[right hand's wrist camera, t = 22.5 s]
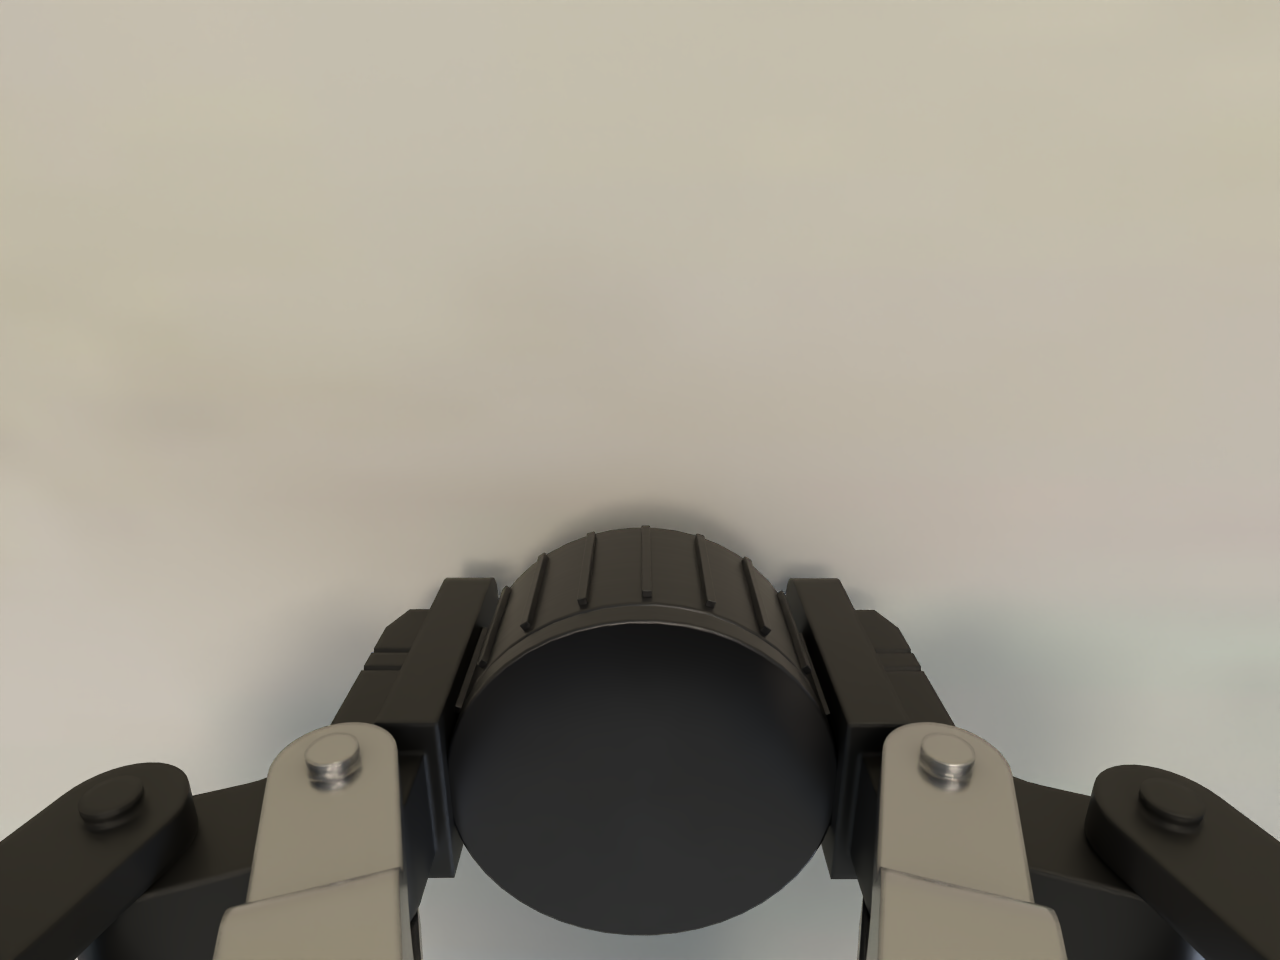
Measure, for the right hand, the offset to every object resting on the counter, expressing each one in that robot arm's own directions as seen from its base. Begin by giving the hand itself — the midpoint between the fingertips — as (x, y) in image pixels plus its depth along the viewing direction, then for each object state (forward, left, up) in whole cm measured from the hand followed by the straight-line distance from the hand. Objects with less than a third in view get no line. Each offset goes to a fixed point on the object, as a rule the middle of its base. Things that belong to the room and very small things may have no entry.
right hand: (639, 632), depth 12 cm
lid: (0, 0, +3) cm, 3 cm away
